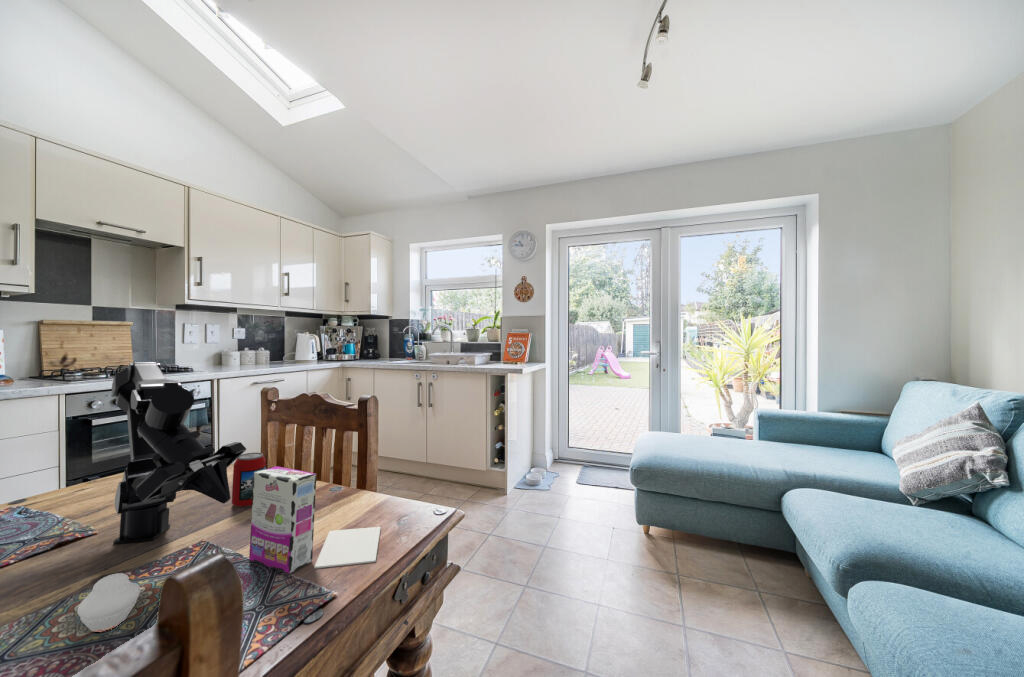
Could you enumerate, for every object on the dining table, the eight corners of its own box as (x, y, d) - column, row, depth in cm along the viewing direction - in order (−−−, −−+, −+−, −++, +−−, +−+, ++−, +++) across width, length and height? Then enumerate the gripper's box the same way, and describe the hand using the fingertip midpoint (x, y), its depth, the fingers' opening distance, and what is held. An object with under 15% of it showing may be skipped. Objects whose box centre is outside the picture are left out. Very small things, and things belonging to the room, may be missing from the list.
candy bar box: (314, 561, 71) (318, 472, 72) (289, 575, 67) (294, 481, 67) (273, 547, 76) (277, 464, 76) (247, 560, 71) (252, 471, 72)
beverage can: (247, 510, 92) (250, 460, 92) (224, 507, 93) (226, 457, 94) (270, 499, 99) (272, 453, 99) (248, 497, 100) (250, 450, 100)
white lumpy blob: (65, 633, 52) (69, 581, 52) (124, 605, 58) (127, 559, 58) (90, 647, 50) (93, 593, 50) (148, 617, 56) (151, 568, 56)
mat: (314, 568, 69) (314, 566, 69) (329, 532, 83) (329, 530, 83) (375, 562, 72) (375, 560, 72) (380, 527, 85) (380, 526, 85)
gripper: (183, 455, 81) (232, 510, 80) (84, 487, 62) (147, 558, 62) (222, 419, 81) (271, 473, 81) (134, 440, 62) (197, 510, 62)
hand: (227, 501), depth 71 cm, fingers closed
